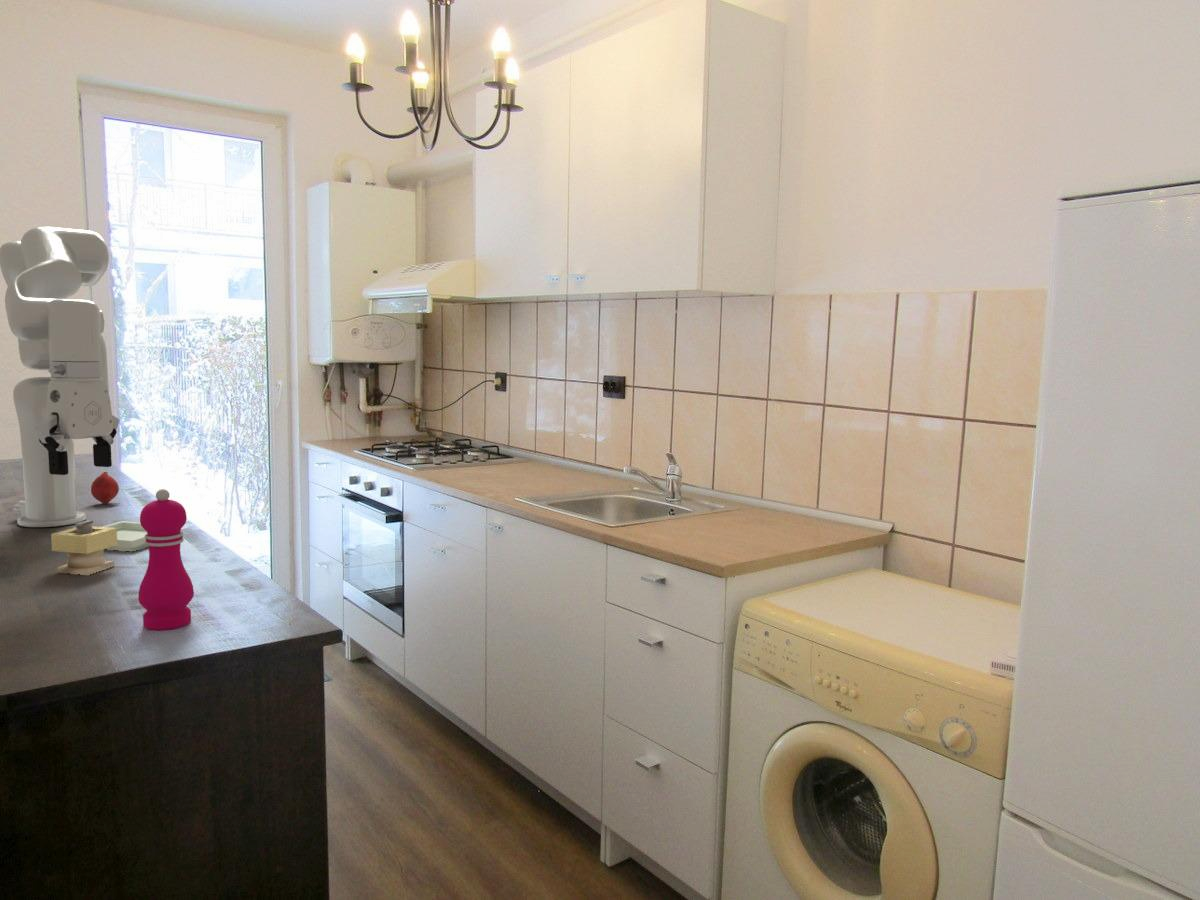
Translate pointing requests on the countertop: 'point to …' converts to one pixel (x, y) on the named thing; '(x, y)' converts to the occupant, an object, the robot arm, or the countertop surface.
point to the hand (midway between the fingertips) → (81, 470)
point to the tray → (128, 536)
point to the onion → (104, 488)
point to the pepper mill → (165, 566)
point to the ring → (84, 540)
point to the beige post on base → (85, 556)
